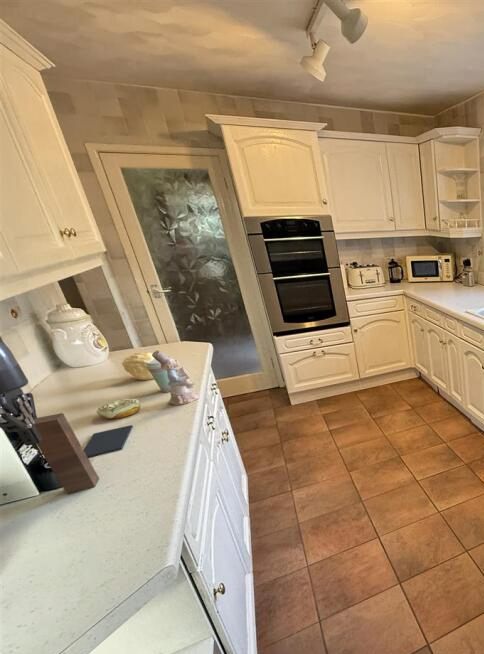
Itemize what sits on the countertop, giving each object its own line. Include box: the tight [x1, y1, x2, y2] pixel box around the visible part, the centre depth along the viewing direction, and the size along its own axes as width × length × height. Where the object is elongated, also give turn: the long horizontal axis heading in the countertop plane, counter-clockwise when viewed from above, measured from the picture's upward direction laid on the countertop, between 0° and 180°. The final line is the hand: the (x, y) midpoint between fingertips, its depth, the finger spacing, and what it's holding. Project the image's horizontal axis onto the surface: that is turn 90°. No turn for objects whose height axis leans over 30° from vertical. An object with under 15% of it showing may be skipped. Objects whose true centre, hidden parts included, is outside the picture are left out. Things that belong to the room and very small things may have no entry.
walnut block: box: [34, 412, 100, 495], centre depth 93 cm, size 4×5×19 cm
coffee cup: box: [146, 358, 178, 393], centre depth 149 cm, size 9×8×12 cm
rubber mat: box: [83, 424, 133, 459], centre depth 116 cm, size 16×9×1 cm, turn 33°
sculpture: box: [121, 351, 155, 381], centre depth 161 cm, size 11×12×11 cm
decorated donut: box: [96, 398, 141, 420], centre depth 132 cm, size 10×11×4 cm
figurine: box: [152, 350, 199, 406], centre depth 137 cm, size 9×8×20 cm
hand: (34, 443), depth 83 cm, fingers closed
